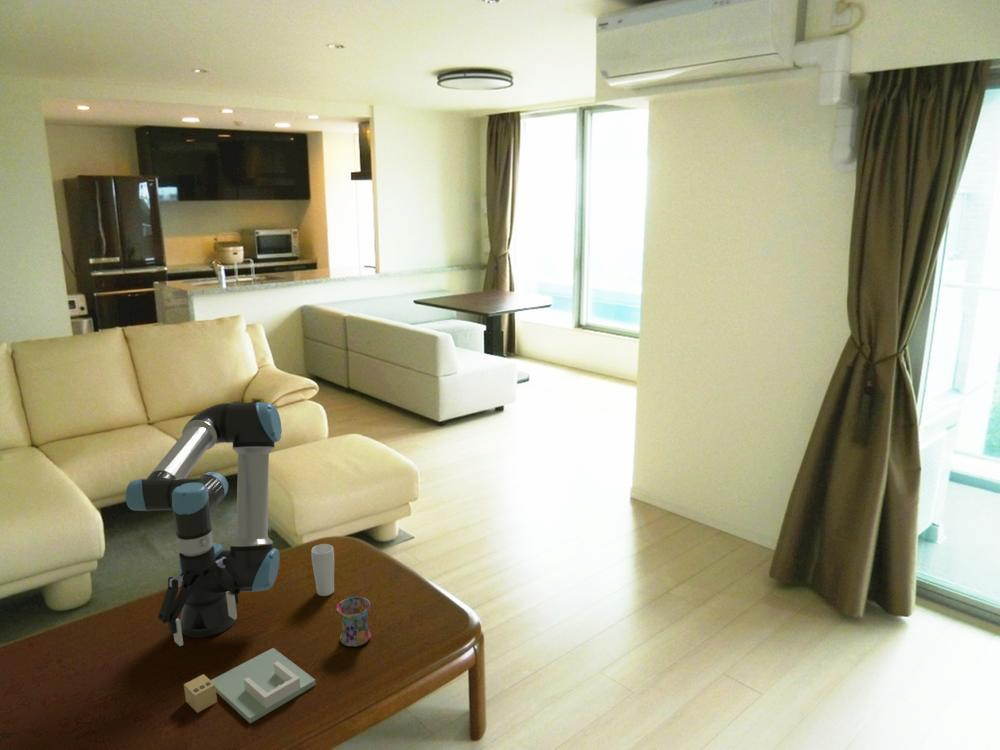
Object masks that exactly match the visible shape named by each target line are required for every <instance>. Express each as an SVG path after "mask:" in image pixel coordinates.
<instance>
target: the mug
mask: <svg viewBox="0 0 1000 750" xmlns="http://www.w3.org/2000/svg"><path fill="white" fill-rule="evenodd" d="M370 608H371V602H370V600H369V599H368V598H365V597H362V596H351V597H346V598H345V599H342V600H341V601H339V602H338V603H337V605H336V607H335V610H336V612H337V614H338V615H339V617H340V620H341V626H342V627H341V628H342V629H341V631H342V632H341V634H340V637H339V641H340V642H341V644H343V645H344V646H347V647H354V648H355V647H359V646H362V645H364V644H366V643H367V642H369V640H370V639H371V637H372V633H371V630H370V629H369V627H368V622H367V620H368V614H369V611H370Z"/></svg>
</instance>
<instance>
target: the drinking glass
mask: <svg viewBox="0 0 1000 750" xmlns="http://www.w3.org/2000/svg"><path fill="white" fill-rule="evenodd" d="M310 552H311V557H310V558H311V565H312V570H313V575H314V581H315V586H316V593H317V595H318V596H320V597H328V596H330V595H332V594H333V593H334V592H335V550H334V546H333V545H331V544H328V543H320V544H317V545H315V546H313V547H312V548H311V551H310Z"/></svg>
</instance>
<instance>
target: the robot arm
mask: <svg viewBox="0 0 1000 750" xmlns="http://www.w3.org/2000/svg"><path fill="white" fill-rule="evenodd" d="M279 413H280V412H279V411H278V408H277V407H276V406H275V405H274V404H273V403H271V402H261V401H260V402H259V401H256V402H232V403H231V402H229V403H227V402H224V403H218V404H215V405H212V406H209V407H207V408H205V409H203V410H201V411H200V412H199V413H197V414H196V415H193V417H191V419H190V420H188V421H187V423H186V424H184V425H185V426H184V427H183V429H182V432H181V433H182V434H181V436H180V437H179V439H177V441H176V442H175V443H174V445H173V446H172V447H171V448H170V449H169V451H168V452H167V453H165V456H163V458H162V459H161V461H160V462H159V463H158V464H157V465H156V467H155V468H154V469H153V471H152V472H151V473H150V474H149V475H148V476H147V478H139V479H134V480H131V481H130V482H129V483H128V485H127V486H126V491H125V502H126V505H127V507H128V508H129V509H130V510H131V511H139V512H141V511H142V512H151V511H173V512H172V513H173V517H174V524H175V531H176V541H177V549H178V550H177V551H178V553H179V554H178V555H179V560H178V569H179V571H178V574H179V576H177V577H173V576H169V577H168V579H167V588H166V589H167V590H166V591H165V595H164V599H163V600H162V603H161V607H160V611H159V613H158V616H157V619H158V620H159V621H161V622H162V623H163V624H166V623H167V625H168V632H170V634H172V635H173V639H174V643H176V644H177V645H178V646H179V647H181V646H184V640H183V639H184V638H183V635H184V636H186V637H188V638H191V639H193V638H194V639H197V638H198V639H201V638H208V637H212V636H216V635H219V634H221V633H223V632H224V631H226V630H228V629H230V627H232V626H233V625H234V624H235V622H236V620H237V619H238V613H237V612H238V611H237V604H239V594H240V593H244V592H252V593H256V592H263V591H268V590H270V589H271V588H273V585H275V581H276V580H277V575H278V572H279V568H280V560H281V559H280V551H279V550H278V549H277V548H275V547H273V546H274V542H273V540H272V539H270V538H269V535H268V533H269V532H268V527H269V526H268V522H269V520H268V519H269V478H270V477H269V473H270V472H269V471H270V469H269V468H270V467H269V466H270V453H271V452H272V451H273V450H274V449H275V443H277V442H279V441H280V440H281V438H282V423H281V417H280V416H281V415H280V414H279ZM221 443H222V444H223V443H227V444H229V443H230V444H232V450H234V452H235V453H237V480H236V481H237V487H236V488H237V490H236V494H237V495H236V526H235V527H236V530H235V531H236V532H235V534H236V535H235V539H234V540H233V541H232V542H231V543H230V545H229V546H230V549H227V550H223V549H224V548H223V546H222V545H221V544H220V543H219V542H218V543H217V542H214V537H213V530H212V529H213V528H212V521H211V514H212V513H213V511H214V510H215V509H216V508H217V507H218V505H219V504H220V503H222V502H223V501H224V499H225V496H226V495H227V494H228V491H229V482H228V481H227V478H226V477H225V476H224V475H223V474H221V473H219V472H217V471H208V472H206V473H204V474H202V475H200V477H188V476H189V474H190V473H191V471H192V470H193V469H194V468H195V467H196V465H197V463H198V462H199V461H200V459H201V458H202V456H203V455H204V454H205V453H206V451H207V450H210V449H212V448H213V447H214V446H215V445H216V444H217V445H218V444H221ZM179 588H180V591H179ZM178 591H179V593H178ZM180 613H181V615H180ZM179 615H180V619H179V618H178V617H179Z"/></svg>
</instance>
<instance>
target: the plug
mask: <svg viewBox="0 0 1000 750" xmlns="http://www.w3.org/2000/svg"><path fill="white" fill-rule="evenodd" d="M211 680H212V679H210V678H208V676H206V675H205V674H201V675H199V676H197V677H196V678H193V679H191V680H190V681H187V682H185V683H183V689H184V697H185V702H186V704H188V705H189V706H190V707H191V708H192V710H194V711H195V712H196V713H197V714H199V713H201V711H204V710H205V709H207V708H208V707H209V708H210V707H211V706H213V705H215V704H216V703H218V697H217V692H216V687H215V684H214V683H213V682H212V681H211Z"/></svg>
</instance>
